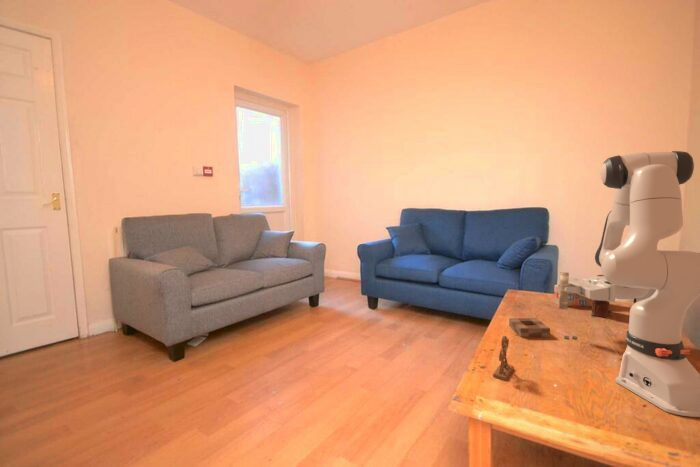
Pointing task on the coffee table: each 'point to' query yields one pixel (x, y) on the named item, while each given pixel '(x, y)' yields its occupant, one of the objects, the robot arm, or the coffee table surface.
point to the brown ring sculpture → (503, 362)
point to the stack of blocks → (573, 298)
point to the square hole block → (529, 327)
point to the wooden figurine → (600, 307)
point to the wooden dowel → (563, 295)
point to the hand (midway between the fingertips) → (561, 288)
